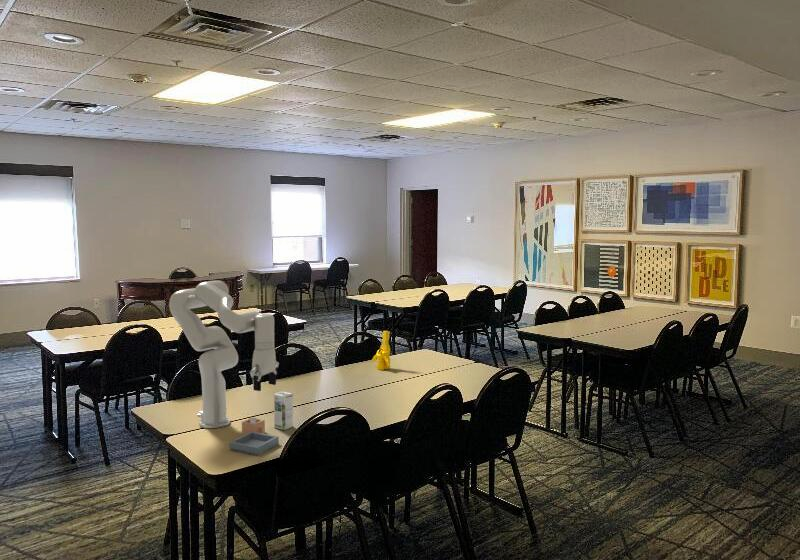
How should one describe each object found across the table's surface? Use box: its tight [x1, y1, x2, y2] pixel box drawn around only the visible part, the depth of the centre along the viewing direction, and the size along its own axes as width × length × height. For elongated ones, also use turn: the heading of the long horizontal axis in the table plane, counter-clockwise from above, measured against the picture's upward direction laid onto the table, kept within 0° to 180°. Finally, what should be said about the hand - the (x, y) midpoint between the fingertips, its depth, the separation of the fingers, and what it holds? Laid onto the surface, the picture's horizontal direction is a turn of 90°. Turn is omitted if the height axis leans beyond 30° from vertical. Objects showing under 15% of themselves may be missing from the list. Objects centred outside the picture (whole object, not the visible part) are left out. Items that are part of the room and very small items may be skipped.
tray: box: [228, 431, 280, 457], centre depth 232 cm, size 13×13×3 cm
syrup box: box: [273, 391, 294, 431], centre depth 253 cm, size 6×6×14 cm
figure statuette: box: [370, 330, 391, 371], centre depth 352 cm, size 18×8×22 cm, turn 39°
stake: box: [249, 417, 257, 423], centre depth 247 cm, size 2×2×6 cm
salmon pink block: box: [241, 417, 266, 436], centre depth 247 cm, size 8×6×5 cm
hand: (264, 387), depth 243 cm, fingers open, 9 cm apart
